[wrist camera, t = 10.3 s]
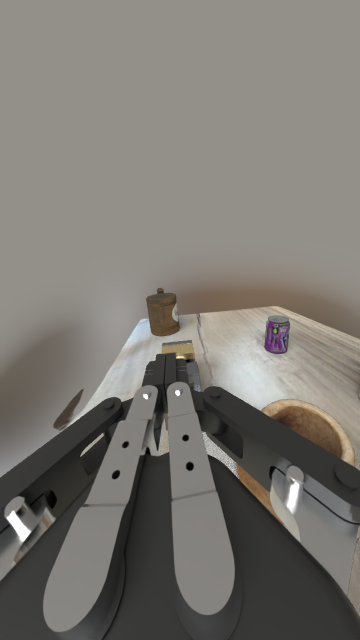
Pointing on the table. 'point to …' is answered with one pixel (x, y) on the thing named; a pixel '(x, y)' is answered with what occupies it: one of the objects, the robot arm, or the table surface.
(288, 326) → the beverage can
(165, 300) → the wooden container
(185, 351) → the latch bracket
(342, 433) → the stone cup
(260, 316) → the table surface
